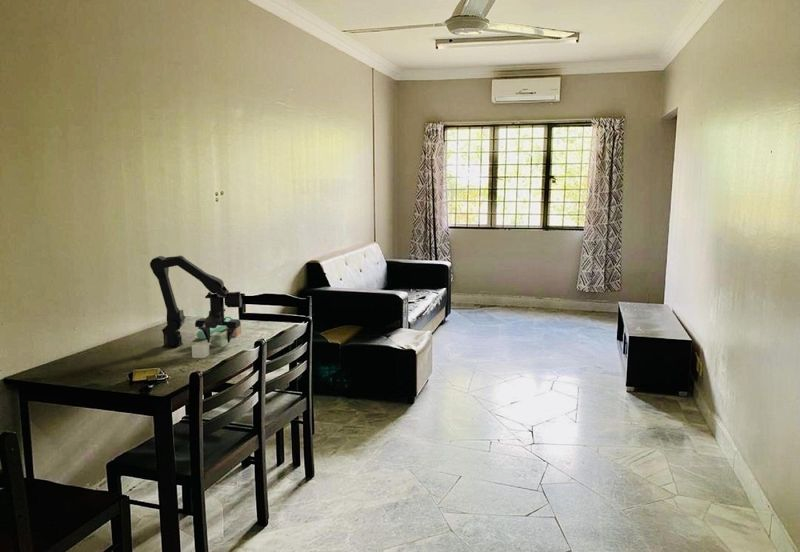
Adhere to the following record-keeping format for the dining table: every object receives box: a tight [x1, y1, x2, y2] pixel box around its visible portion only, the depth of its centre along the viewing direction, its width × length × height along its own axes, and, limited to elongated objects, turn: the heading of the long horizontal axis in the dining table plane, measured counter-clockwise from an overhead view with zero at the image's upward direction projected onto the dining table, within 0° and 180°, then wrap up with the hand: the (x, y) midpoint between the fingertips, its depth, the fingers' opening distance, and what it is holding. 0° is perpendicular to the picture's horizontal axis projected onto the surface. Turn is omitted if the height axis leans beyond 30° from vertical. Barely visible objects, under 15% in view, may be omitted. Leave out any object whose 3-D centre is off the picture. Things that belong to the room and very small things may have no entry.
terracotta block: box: [225, 325, 242, 337], centre depth 276 cm, size 5×5×5 cm
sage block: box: [210, 331, 228, 347], centre depth 260 cm, size 5×5×5 cm
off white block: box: [191, 342, 210, 359], centre depth 244 cm, size 5×5×5 cm
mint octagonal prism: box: [196, 316, 234, 341], centre depth 279 cm, size 6×6×25 cm
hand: (218, 342), depth 261 cm, fingers open, 9 cm apart
